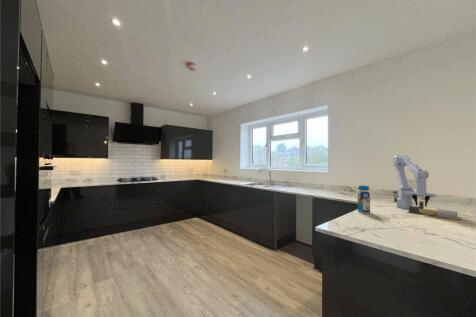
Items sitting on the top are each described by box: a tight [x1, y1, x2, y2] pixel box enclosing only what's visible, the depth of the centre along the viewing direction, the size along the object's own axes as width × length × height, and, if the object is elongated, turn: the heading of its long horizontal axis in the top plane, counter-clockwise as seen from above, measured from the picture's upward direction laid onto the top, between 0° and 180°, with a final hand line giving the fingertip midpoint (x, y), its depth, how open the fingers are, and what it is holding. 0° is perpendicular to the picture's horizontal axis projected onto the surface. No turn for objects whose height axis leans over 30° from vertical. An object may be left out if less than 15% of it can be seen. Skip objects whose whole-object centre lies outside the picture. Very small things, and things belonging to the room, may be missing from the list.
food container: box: [392, 190, 400, 203], centre depth 193 cm, size 12×6×10 cm, turn 59°
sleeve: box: [437, 208, 459, 219], centre depth 136 cm, size 9×4×4 cm, turn 42°
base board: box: [406, 210, 462, 222], centre depth 142 cm, size 26×12×1 cm, turn 42°
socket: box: [408, 204, 419, 214], centre depth 149 cm, size 5×7×4 cm
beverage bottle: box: [357, 185, 371, 214], centre depth 154 cm, size 8×8×20 cm
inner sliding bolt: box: [418, 200, 438, 215], centre depth 143 cm, size 16×3×8 cm, turn 42°
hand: (421, 205), depth 146 cm, fingers open, 4 cm apart
